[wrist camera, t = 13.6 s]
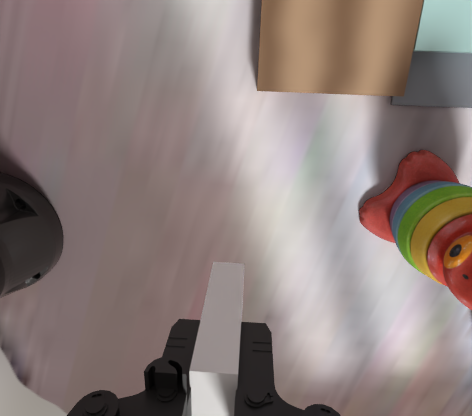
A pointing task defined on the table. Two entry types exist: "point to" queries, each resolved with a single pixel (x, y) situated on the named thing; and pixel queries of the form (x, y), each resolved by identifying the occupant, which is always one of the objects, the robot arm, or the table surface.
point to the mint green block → (445, 27)
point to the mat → (438, 80)
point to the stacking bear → (427, 221)
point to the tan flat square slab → (337, 46)
